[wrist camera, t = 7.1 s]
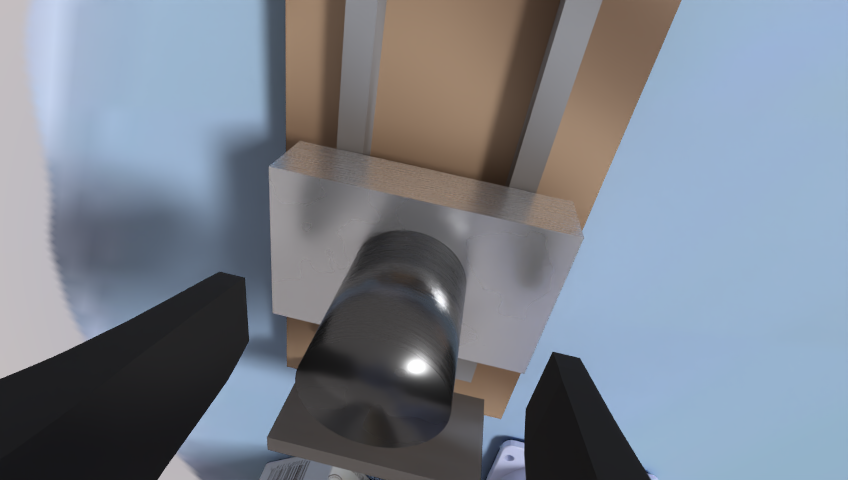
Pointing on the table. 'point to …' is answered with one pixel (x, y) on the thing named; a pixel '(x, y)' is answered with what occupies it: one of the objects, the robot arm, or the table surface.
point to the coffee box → (306, 471)
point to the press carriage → (407, 284)
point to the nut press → (461, 144)
